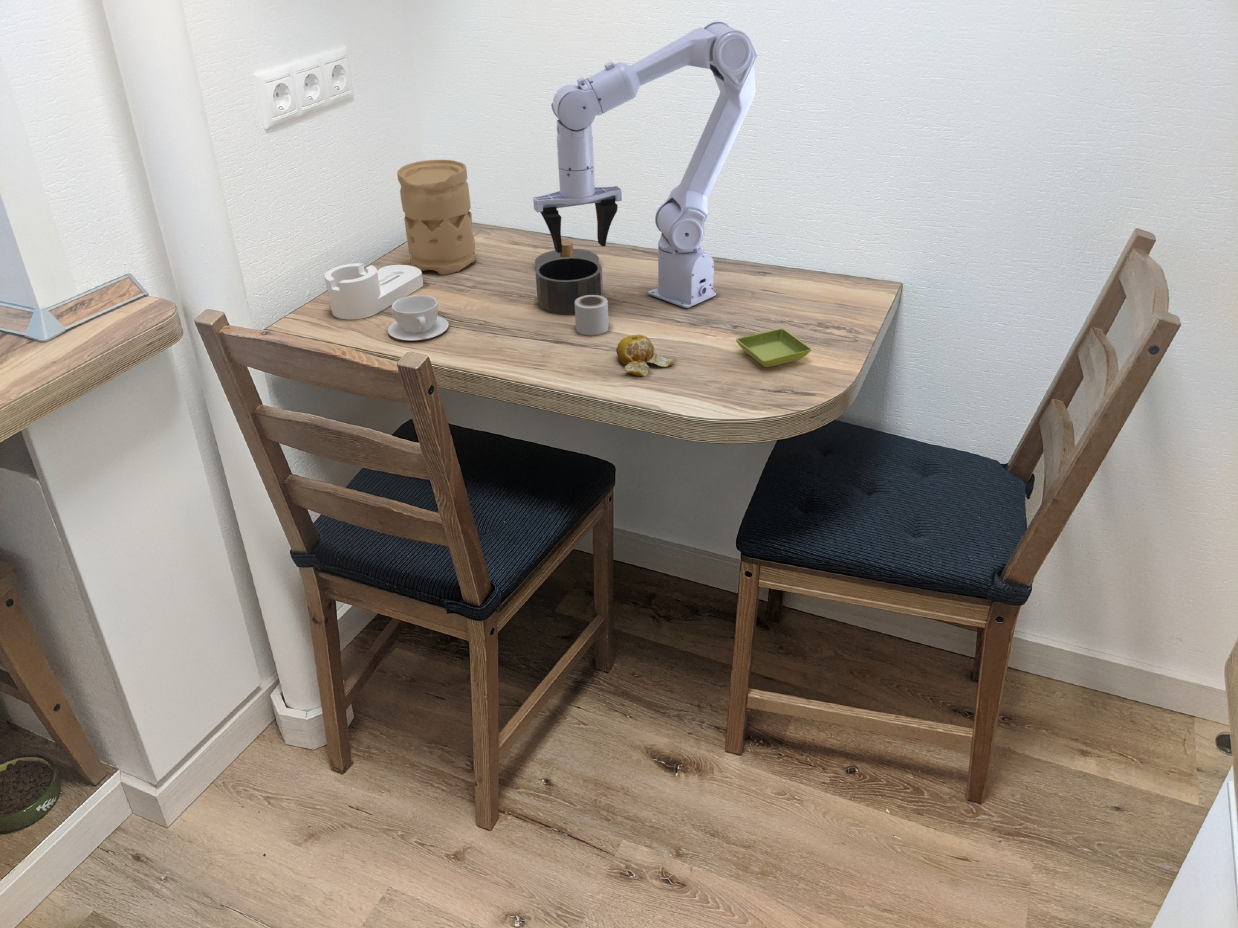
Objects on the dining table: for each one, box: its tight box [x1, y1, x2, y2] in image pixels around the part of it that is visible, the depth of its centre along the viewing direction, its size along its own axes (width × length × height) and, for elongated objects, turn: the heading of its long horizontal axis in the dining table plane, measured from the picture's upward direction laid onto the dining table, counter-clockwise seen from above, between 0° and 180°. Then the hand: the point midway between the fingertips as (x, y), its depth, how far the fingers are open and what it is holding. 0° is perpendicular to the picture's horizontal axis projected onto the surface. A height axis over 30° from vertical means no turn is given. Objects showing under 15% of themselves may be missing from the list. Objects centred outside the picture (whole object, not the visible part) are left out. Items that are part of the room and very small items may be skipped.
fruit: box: [615, 334, 675, 377], centre depth 146 cm, size 8×8×4 cm
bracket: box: [324, 262, 424, 321], centre depth 170 cm, size 20×9×7 cm, turn 153°
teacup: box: [387, 294, 449, 341], centre depth 158 cm, size 10×10×5 cm
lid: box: [534, 240, 600, 269], centre depth 181 cm, size 12×12×4 cm
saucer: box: [735, 328, 813, 368], centre depth 147 cm, size 9×9×2 cm
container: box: [396, 159, 477, 275], centre depth 180 cm, size 13×13×18 cm
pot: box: [534, 257, 604, 316], centre depth 166 cm, size 11×11×6 cm
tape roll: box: [574, 295, 610, 336], centre depth 157 cm, size 5×5×5 cm
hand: (580, 247), depth 161 cm, fingers open, 7 cm apart
